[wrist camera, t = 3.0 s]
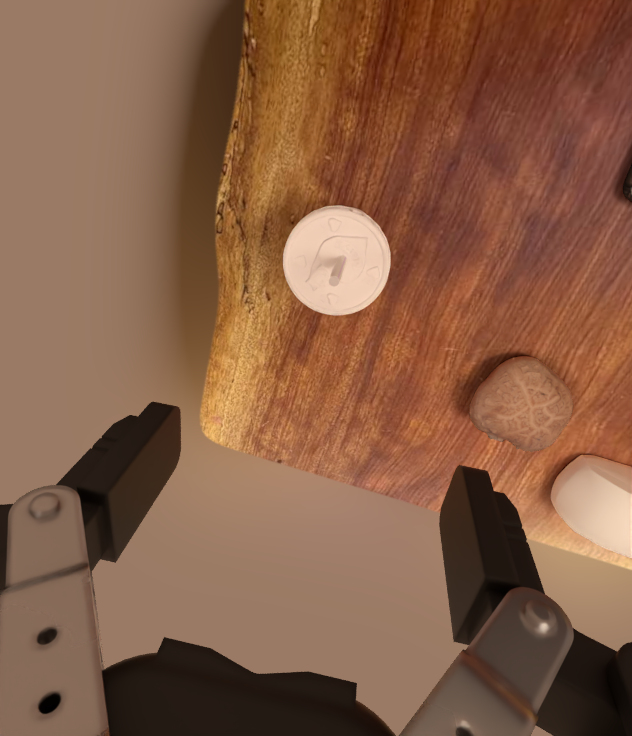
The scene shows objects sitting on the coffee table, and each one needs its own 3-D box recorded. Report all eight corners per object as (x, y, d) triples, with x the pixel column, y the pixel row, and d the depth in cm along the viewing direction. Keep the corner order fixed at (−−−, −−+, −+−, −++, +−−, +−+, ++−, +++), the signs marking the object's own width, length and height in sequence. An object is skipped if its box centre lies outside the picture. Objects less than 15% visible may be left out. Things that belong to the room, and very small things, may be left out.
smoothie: (408, 237, 34) (417, 297, 22) (343, 289, 37) (320, 368, 24) (354, 168, 32) (332, 191, 20) (291, 227, 35) (237, 279, 23)
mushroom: (529, 450, 41) (603, 403, 36) (505, 485, 37) (585, 437, 32) (469, 390, 43) (530, 336, 38) (440, 417, 39) (504, 360, 33)
